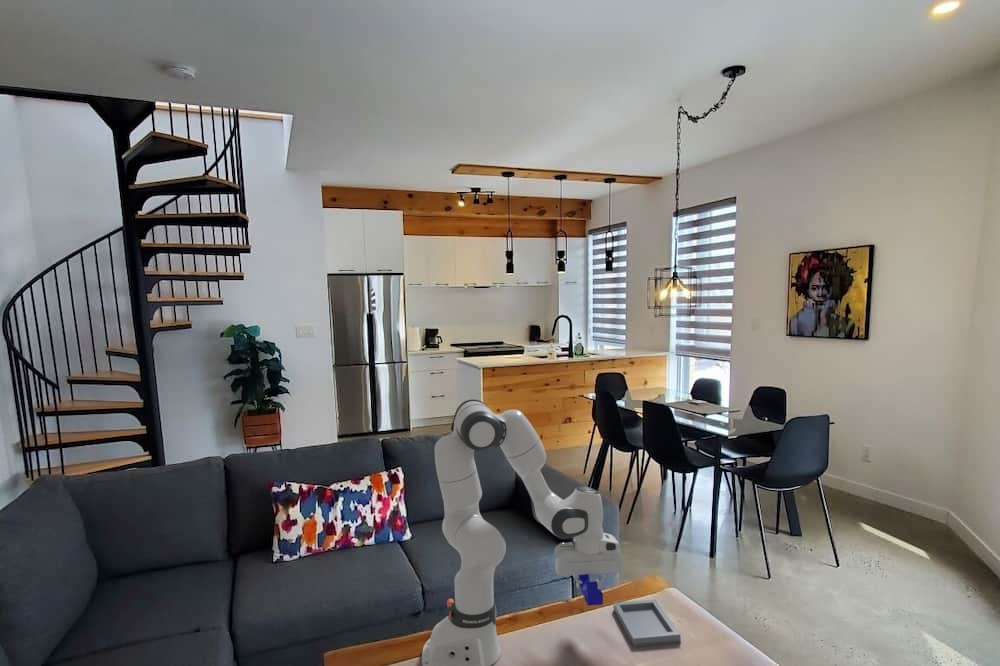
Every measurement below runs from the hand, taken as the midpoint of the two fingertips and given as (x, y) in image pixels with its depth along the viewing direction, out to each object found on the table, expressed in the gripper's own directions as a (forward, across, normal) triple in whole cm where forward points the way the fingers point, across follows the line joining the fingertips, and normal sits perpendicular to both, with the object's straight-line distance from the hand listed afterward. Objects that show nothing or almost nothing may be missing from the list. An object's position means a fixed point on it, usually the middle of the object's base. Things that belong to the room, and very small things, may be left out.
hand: (589, 587), depth 147 cm
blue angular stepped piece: (+2, 0, 0) cm, 2 cm away
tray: (+13, +17, +1) cm, 22 cm away
